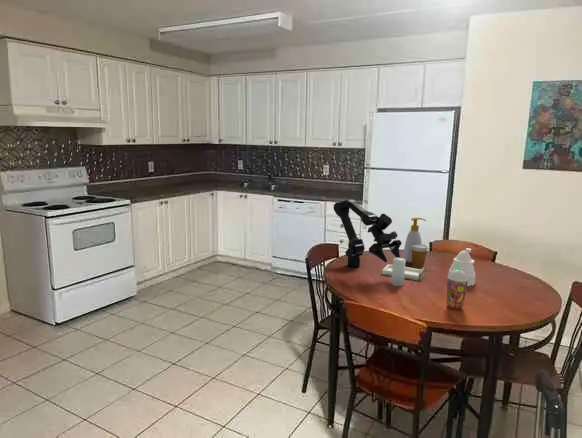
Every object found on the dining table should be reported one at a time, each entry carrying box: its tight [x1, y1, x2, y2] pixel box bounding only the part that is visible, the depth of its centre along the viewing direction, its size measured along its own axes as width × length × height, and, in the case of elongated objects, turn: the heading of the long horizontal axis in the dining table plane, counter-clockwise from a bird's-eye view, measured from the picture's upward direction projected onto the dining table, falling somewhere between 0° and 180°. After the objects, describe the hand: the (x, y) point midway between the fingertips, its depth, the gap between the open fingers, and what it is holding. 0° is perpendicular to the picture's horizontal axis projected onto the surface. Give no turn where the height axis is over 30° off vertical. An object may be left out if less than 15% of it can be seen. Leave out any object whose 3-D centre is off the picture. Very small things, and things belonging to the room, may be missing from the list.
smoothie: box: [446, 264, 468, 311], centre depth 184 cm, size 8×8×20 cm
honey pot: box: [448, 248, 476, 287], centre depth 218 cm, size 13×13×18 cm
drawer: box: [381, 263, 426, 282], centre depth 229 cm, size 20×12×4 cm, turn 63°
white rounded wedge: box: [390, 257, 407, 287], centre depth 212 cm, size 6×6×13 cm
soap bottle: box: [402, 217, 426, 264], centre depth 251 cm, size 11×12×26 cm
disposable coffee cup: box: [411, 243, 429, 269], centre depth 243 cm, size 10×10×12 cm
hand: (393, 260), depth 215 cm, fingers open, 9 cm apart
